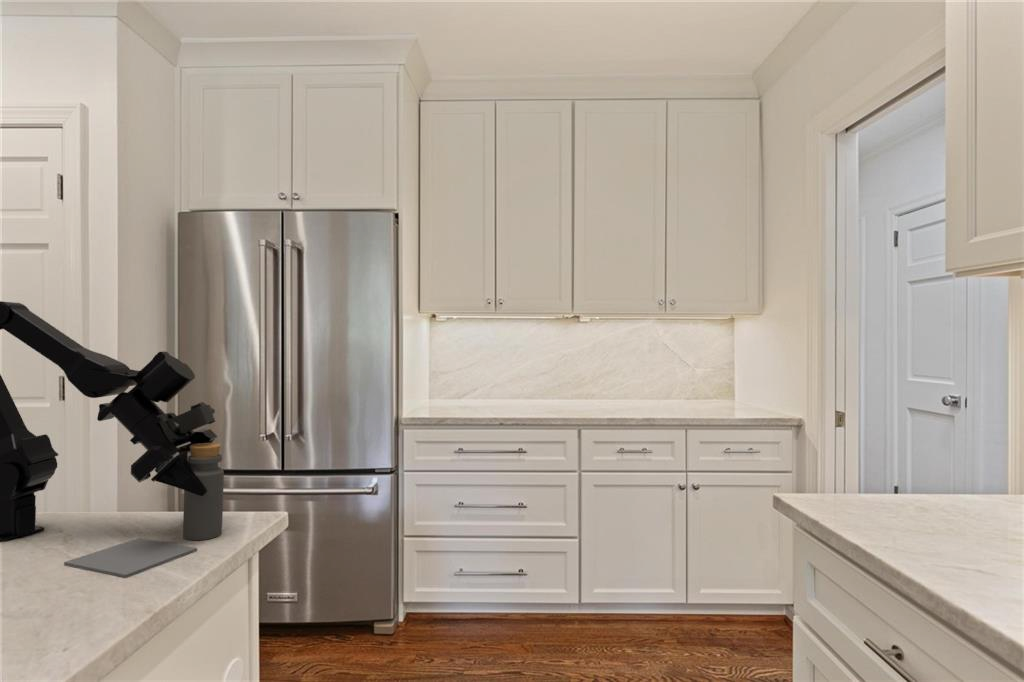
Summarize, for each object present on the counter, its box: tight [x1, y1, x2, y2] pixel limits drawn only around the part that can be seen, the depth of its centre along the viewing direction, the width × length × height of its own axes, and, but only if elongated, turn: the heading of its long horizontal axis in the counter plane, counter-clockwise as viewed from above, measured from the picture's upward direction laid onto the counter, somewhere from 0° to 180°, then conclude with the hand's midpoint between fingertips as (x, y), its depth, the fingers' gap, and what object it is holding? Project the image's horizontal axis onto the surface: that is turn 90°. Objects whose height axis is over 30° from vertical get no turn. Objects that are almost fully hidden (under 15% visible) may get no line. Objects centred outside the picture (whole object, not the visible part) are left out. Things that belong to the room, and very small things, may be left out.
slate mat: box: [63, 537, 198, 579], centre depth 92 cm, size 12×12×1 cm
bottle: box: [182, 442, 225, 541], centre depth 103 cm, size 6×6×15 cm
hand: (212, 489), depth 103 cm, fingers closed on bottle, 6 cm apart
